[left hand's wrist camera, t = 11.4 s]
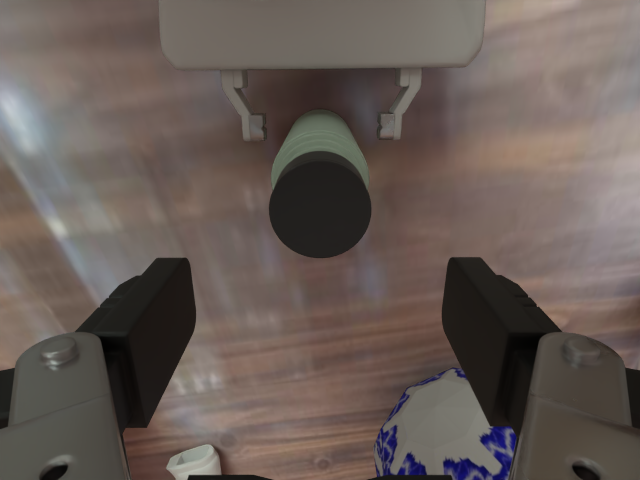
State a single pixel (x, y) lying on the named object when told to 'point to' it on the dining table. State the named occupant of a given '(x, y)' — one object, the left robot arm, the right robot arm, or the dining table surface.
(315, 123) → the bottle
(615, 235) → the dining table surface
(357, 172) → the cap
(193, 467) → the pistol
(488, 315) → the left robot arm
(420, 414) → the ornament
